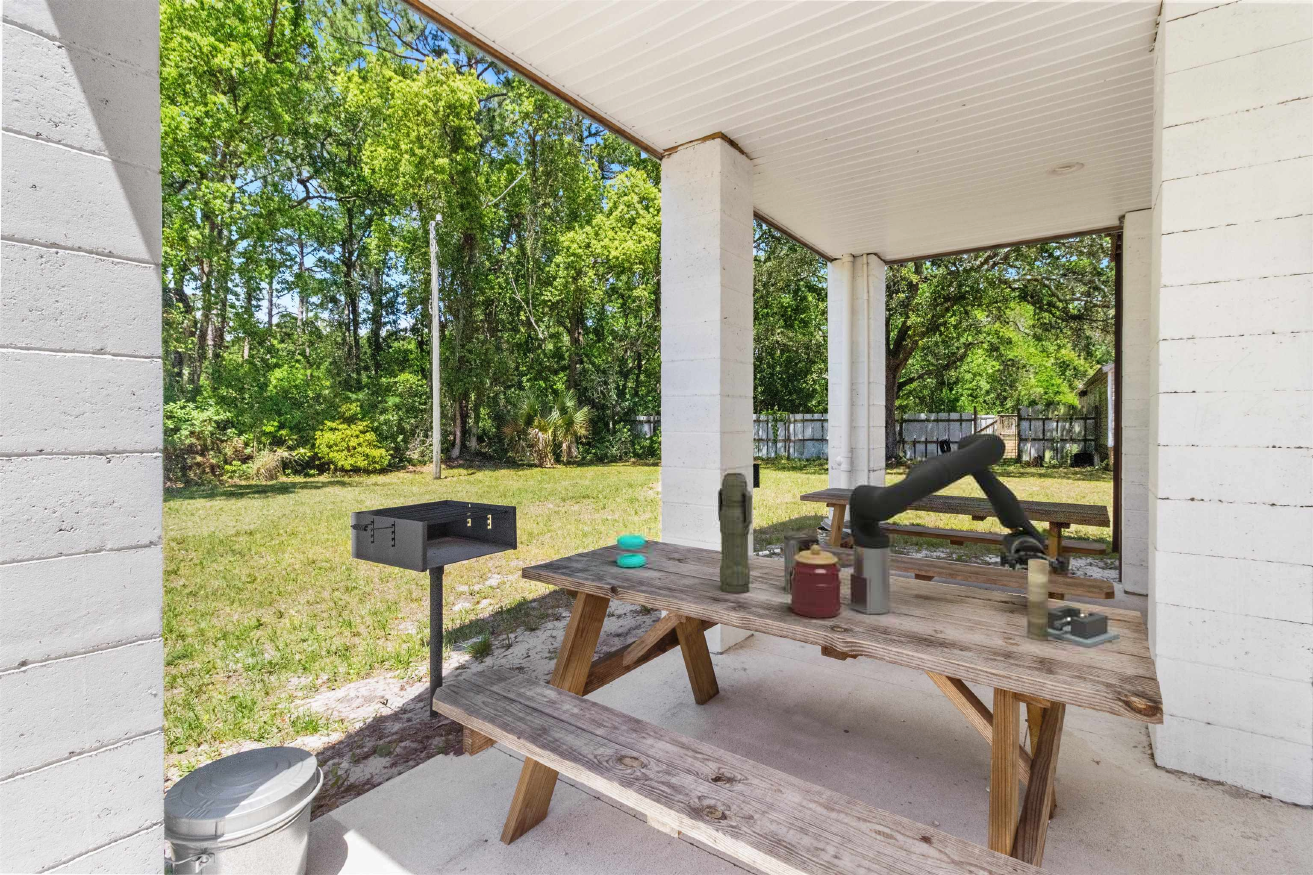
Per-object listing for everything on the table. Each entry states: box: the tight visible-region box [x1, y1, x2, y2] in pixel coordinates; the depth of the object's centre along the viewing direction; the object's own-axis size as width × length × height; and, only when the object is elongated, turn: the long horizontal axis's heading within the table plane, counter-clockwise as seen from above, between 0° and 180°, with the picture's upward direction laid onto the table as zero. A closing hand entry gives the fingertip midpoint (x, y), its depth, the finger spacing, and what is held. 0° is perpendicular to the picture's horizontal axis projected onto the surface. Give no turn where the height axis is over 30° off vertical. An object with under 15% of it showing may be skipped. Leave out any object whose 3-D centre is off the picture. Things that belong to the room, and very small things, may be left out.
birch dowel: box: [1026, 559, 1050, 642], centre depth 137 cm, size 4×4×18 cm
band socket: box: [1047, 604, 1120, 649], centre depth 140 cm, size 13×12×5 cm
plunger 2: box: [1077, 610, 1097, 619], centre depth 142 cm, size 6×2×2 cm, turn 117°
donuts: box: [616, 534, 646, 568], centre depth 208 cm, size 10×10×10 cm
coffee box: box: [783, 534, 820, 594], centre depth 176 cm, size 9×6×16 cm
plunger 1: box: [1054, 617, 1071, 628], centre depth 137 cm, size 6×2×2 cm, turn 117°
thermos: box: [717, 472, 753, 595], centre depth 177 cm, size 9×12×35 cm
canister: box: [790, 545, 842, 619], centre depth 158 cm, size 13×13×18 cm
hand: (1034, 568), depth 147 cm, fingers open, 8 cm apart
